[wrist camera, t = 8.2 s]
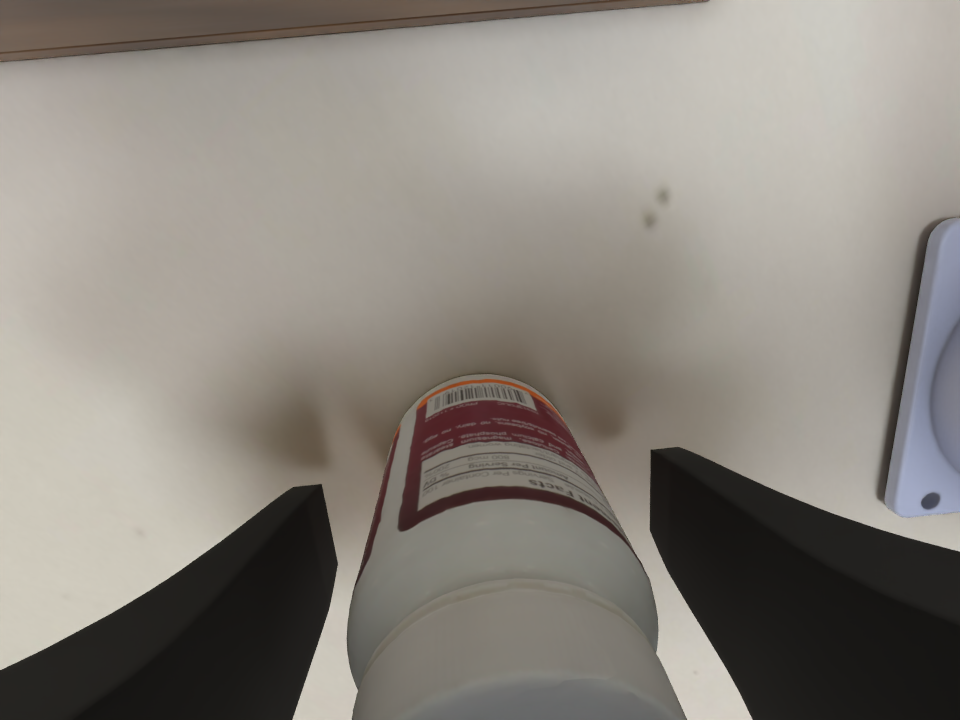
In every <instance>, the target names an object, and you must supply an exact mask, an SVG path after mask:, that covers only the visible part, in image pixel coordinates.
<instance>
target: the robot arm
mask: <svg viewBox="0 0 960 720" xmlns="http://www.w3.org/2000/svg"><path fill="white" fill-rule="evenodd" d="M923 497H924V498H923ZM885 505H886V506H887V508H888V509H890V510H891V511H892V512H894V513H895V514H897V515H899V516H900V517H906V518H910V517H919V516H928V515H938V514H947V513H956V512H960V217H959V218H951V219H948V220H944V221H943V222H941V223H940V224H938V225H937V226H936V227H935V229H934V230H933V231H932V232H931V234H930V237H929V240H928V244H927V250H926V255H925V261H924V267H923V273H922V279H921V285H920V291H919V297H918V303H917V309H916V315H915V320H914V326H913V332H912V338H911V344H910V350H909V356H908V362H907V368H906V374H905V380H904V385H903V391H902V397H901V403H900V409H899V415H898V421H897V427H896V433H895V439H894V445H893V450H892V456H891V462H890V468H889V474H888V480H887V486H886V492H885ZM650 532H651V534H652V536H653V539H654V541H655V544H656V546H657V548H658V551H659V553H660V555H661V557H662V560H663V562H664V564H665V566H666V568H667V571H668V572H669V574H670V576H671V578H672V579H673V581H674V583H675V584H676V586H677V588H678V589H679V591H680V593H681V594H682V596H683V598H684V599H685V601H686V603H687V604H688V606H689V608H690V609H691V611H692V613H693V614H694V616H695V618H696V619H697V621H698V622H699V624H700V626H701V627H702V629H703V631H704V632H705V634H706V636H707V637H708V639H709V641H710V642H711V644H712V645H713V647H714V649H715V650H716V652H717V654H718V655H719V657H720V659H721V660H722V662H723V664H724V665H725V667H726V669H727V670H728V672H729V674H730V676H731V678H732V679H733V681H734V683H735V685H736V687H737V688H738V690H739V692H740V694H741V696H742V698H743V700H744V702H745V704H746V707H747V709H748V711H749V713H750V715H751V717H752V719H753V720H960V552H959V551H955V550H951V549H947V548H943V547H940V546H936V545H932V544H928V543H925V542H921V541H917V540H914V539H910V538H906V537H903V536H899V535H896V534H893V533H889V532H886V531H883V530H880V529H876V528H873V527H871V526H868V525H865V524H862V523H859V522H856V521H853V520H850V519H847V518H844V517H841V516H838V515H835V514H832V513H830V512H827V511H824V510H822V509H819V508H816V507H814V506H812V505H809V504H807V503H804V502H802V501H799V500H797V499H794V498H792V497H789V496H787V495H785V494H782V493H780V492H778V491H775V490H773V489H771V488H769V487H766V486H764V485H762V484H760V483H757V482H755V481H753V480H751V479H749V478H747V477H744V476H742V475H740V474H738V473H736V472H734V471H732V470H730V469H727V468H725V467H723V466H721V465H719V464H717V463H715V462H713V461H710V460H708V459H706V458H704V457H702V456H700V455H697V454H695V453H693V452H690V451H688V450H685V449H682V448H680V447H675V448H665V449H655V450H651V478H650ZM337 566H338V561H337V557H336V552H335V547H334V542H333V537H332V532H331V527H330V523H329V518H328V513H327V508H326V503H325V498H324V493H323V489H322V484H319V485H309V486H299V487H293V488H291V489H290V490H288V491H287V492H285V493H284V494H282V495H281V496H279V497H278V498H277V499H275V500H274V501H273V502H271V503H270V504H269V505H268V506H266V507H265V508H264V509H262V510H261V511H260V512H259V513H257V514H256V515H255V516H253V517H252V518H251V519H250V520H248V521H247V522H246V523H244V524H243V525H242V526H240V527H239V528H238V529H237V530H235V531H234V532H233V533H231V534H230V535H229V536H228V537H226V538H225V539H224V540H222V541H221V542H220V543H218V544H217V545H215V546H214V547H213V548H211V549H210V550H208V551H207V552H206V553H204V554H203V555H201V556H200V557H199V558H197V559H196V560H194V561H193V562H192V563H190V564H189V565H187V566H186V567H185V568H183V569H182V570H180V571H179V572H177V573H176V574H175V575H173V576H172V577H170V578H169V579H167V580H165V581H164V582H162V583H161V584H159V585H158V586H156V587H155V588H153V589H151V590H150V591H148V592H147V593H145V594H143V595H142V596H140V597H138V598H137V599H135V600H133V601H132V602H130V603H128V604H127V605H125V606H123V607H122V608H120V609H118V610H117V611H115V612H113V613H111V614H110V615H108V616H106V617H104V618H102V619H100V620H98V621H97V622H95V623H93V624H91V625H89V626H87V627H85V628H83V629H82V630H80V631H78V632H76V633H74V634H72V635H70V636H68V637H67V638H65V639H63V640H61V641H59V642H57V643H55V644H54V645H52V646H50V647H48V648H46V649H44V650H42V651H40V652H38V653H36V654H34V655H32V656H29V657H27V658H25V659H23V660H21V661H19V662H17V663H15V664H13V665H11V666H9V667H7V668H4V669H2V670H0V720H292V719H293V716H294V713H295V710H296V707H297V704H298V701H299V698H300V695H301V692H302V689H303V686H304V683H305V680H306V677H307V674H308V671H309V668H310V665H311V662H312V659H313V656H314V653H315V650H316V647H317V645H318V641H319V638H320V635H321V632H322V629H323V626H324V623H325V620H326V617H327V614H328V611H329V607H330V603H331V598H332V593H333V588H334V583H335V577H336V571H337Z"/></svg>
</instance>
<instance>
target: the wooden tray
mask: <svg viewBox="0 0 960 720" xmlns="http://www.w3.org/2000/svg"><path fill="white" fill-rule="evenodd" d="M703 1H709V0H0V61H12V60H24V59H36V58H47V57H59V56H71V55H82V54H94V53H106V52H117V51H129V50H141V49H153V48H164V47H176V46H188V45H199V44H211V43H223V42H235V41H246V40H258V39H270V38H281V37H293V36H305V35H317V34H328V33H340V32H352V31H363V30H375V29H387V28H399V27H410V26H422V25H434V24H445V23H457V22H469V21H480V20H492V19H504V18H516V17H527V16H539V15H551V14H562V13H574V12H586V11H598V10H609V9H621V8H633V7H644V6H656V5H668V4H680V3H691V2H703Z"/></svg>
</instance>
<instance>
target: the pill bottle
mask: <svg viewBox="0 0 960 720" xmlns="http://www.w3.org/2000/svg"><path fill="white" fill-rule="evenodd" d="M657 644H658V616H657V610H656V604H655V600H654V596H653V591H652V587H651V583H650V579H649V577H648V576H647V574H646V572H645V570H644V568H643V565H642V563H641V562H640V560H639V559H638V557H637V555H636V554H635V552H634V550H633V548H632V546H631V544H630V542H629V540H628V538H627V537H626V535H625V533H624V531H623V529H622V527H621V525H620V523H619V521H618V520H617V518H616V516H615V514H614V512H613V510H612V508H611V507H610V505H609V503H608V501H607V499H606V497H605V496H604V494H603V492H602V490H601V488H600V486H599V485H598V483H597V481H596V479H595V477H594V475H593V473H592V471H591V469H590V467H589V465H588V464H587V462H586V460H585V458H584V456H583V455H582V453H581V451H580V449H579V447H578V446H577V443H576V441H575V440H574V438H573V436H572V434H571V432H570V430H569V429H568V427H567V425H566V423H565V421H564V419H563V418H562V416H561V415H560V413H559V412H558V411H557V409H556V408H555V407H554V406H553V405H552V403H551V402H550V401H549V400H548V399H547V398H546V397H545V396H543V395H542V394H541V393H540V392H538V391H537V390H535V389H534V388H532V387H531V386H529V385H527V384H525V383H523V382H520V381H518V380H515V379H512V378H509V377H504V376H498V375H493V374H476V375H467V376H462V377H458V378H454V379H451V380H448V381H446V382H444V383H442V384H440V385H438V386H436V387H434V388H433V389H431V390H430V391H428V392H427V393H426V394H424V395H423V396H422V397H421V398H419V399H418V400H417V401H416V402H415V403H414V404H413V405H412V406H411V407H410V409H409V410H408V411H407V412H406V413H405V415H404V417H403V418H402V420H401V421H400V423H399V426H398V428H397V430H396V432H395V435H394V438H393V442H392V445H391V448H390V450H389V453H388V458H387V465H386V468H385V471H384V476H383V481H382V486H381V490H380V493H379V498H378V501H377V504H376V508H375V513H374V517H373V520H372V524H371V528H370V533H369V536H368V540H367V543H366V547H365V551H364V555H363V559H362V563H361V566H360V570H359V573H358V577H357V580H356V583H355V587H354V591H353V595H352V600H351V604H350V609H349V618H348V626H347V652H348V658H349V664H350V669H351V673H352V676H353V679H354V682H355V685H356V687H357V689H358V693H357V697H356V701H355V705H354V709H353V716H352V720H687V718H686V716H685V714H684V712H683V709H682V707H681V705H680V703H679V701H678V698H677V696H676V694H675V692H674V690H673V687H672V685H671V683H670V681H669V679H668V676H667V674H666V672H665V670H664V668H663V666H662V664H661V662H660V659H659V658H658V656H657V655H656V651H657Z"/></svg>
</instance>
